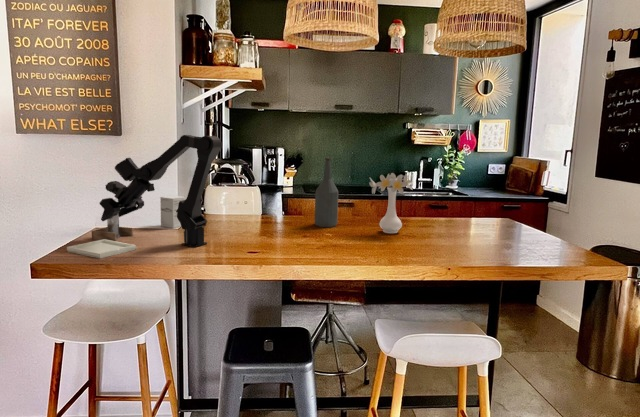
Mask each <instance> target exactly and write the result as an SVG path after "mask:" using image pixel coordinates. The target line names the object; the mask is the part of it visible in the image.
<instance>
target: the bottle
mask: <svg viewBox="0 0 640 417" xmlns="http://www.w3.org/2000/svg"><path fill="white" fill-rule="evenodd" d="M331 160H332V159H331V157H325V160H324V161H325V163H324V171H323V176H322V177H323V178H322V180H321V182H320V184H319V185H318V186H317V188H316V190H315V192H314V193H315V196H314V225H315V226H316V227H320V228H335V227H336V226H337V225H338V213H339V190H338V188H337V186H336V185H335V183H334V181H333V179H332V178H333V177H332V167H331V166H332V165H331Z"/></svg>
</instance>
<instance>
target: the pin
mask: <svg viewBox="0 0 640 417" xmlns="http://www.w3.org/2000/svg"><path fill="white" fill-rule="evenodd" d="M113 200H114V201H115V202H118V199H113ZM106 221H107V226H106V227H107V228H108V232H112V233H116V239H119V238H120V236H121V235H120V234H119V227H120V217H119V213H117V215H116V216H114V217H111V218H109V219H107V220H106Z"/></svg>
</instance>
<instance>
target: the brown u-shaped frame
mask: <svg viewBox="0 0 640 417" xmlns="http://www.w3.org/2000/svg"><path fill="white" fill-rule="evenodd" d="M119 234H120V236H127V237H128V236H129V237H133V236H134V227H128V226H127V227H126V226H119ZM102 239H106V240H111V241H117V238H116V233H112V232H108V228H107V226H106V227H101V228H98V229H95V230H91V240H94V241H98V240H102Z"/></svg>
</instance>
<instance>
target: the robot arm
mask: <svg viewBox="0 0 640 417" xmlns="http://www.w3.org/2000/svg"><path fill="white" fill-rule="evenodd" d="M222 146H223V143H222V141H221V139H220V138H219V137H218V136H216V135H203V136H195V135H192V134H184V135H181V136H180V137H179V139H178V140H177V141H175V142H174V143H173V144H172V145H171V146H170V147H169V148H167V149H166V150H165V151H164V152H163V153H162V154H161V155H159V156H158V157H157V158H155V159H153V160H151V161H149V162H147V163H145V164H142V165H141V166H140V167H138V166H137V164H136V163H135V162H134V160H133V159H132V158H131V157H126V158H124V159H123V160H121V161H120V162H119V163H117V164H115V166H114V170H115V171H116V172H117V173H118V175H120V178H122V179H123V181H124V182H130V183H129V184H128V185H127V186H126V185H125V184H123V183H121V182H120V181H117V180H113V181H108V182H107V184H105V190H106V191H107V192H109V193H112V194H113V195H114V198H115V199H114V198H113V197H106V198H102V199H101V200H100V201H99V205H100V206H101V207H102V209H103V212H102V215H101V217H100V221H101V222H105V221H107V219H109V218H111V217H114V216H116V215H117V213H119V218H121V217H124V216H126V215H129V214H131V213H133V212H135V211H137V210H140V209H142V208H143V207H144V206H145V201H144V200H143V195H144V193H146V192H154V191H155V185H154V183H152V182H153V181H156V180H157V181H158V180H160V179H162V177H163V176H164V175H165V174H166V172H167V170H168V168H169V166H171V164H172V163H174V162H175V161H176V160H177V159H179V157H181V156H182V155H184V154H185V152H187V151H188V150H189V149H190V148H192V149H195V150H196V157H197V163H196V166H195V169H194V173H193V176H192V179H191V182H190V185H189V189H188V192H187V195H186V197H185V200H183V201H180V202H179V204H178V209H177V211H176V212H178V213H177V218H178V220H179V222H180V224H181V227H180V228H181V229H182V230H184V231H183V242H181V246H187V247H192V248H197V247H200V246H204V245H207V244H208V242H207V241H205V228H204V227H205V226H207V222H208V220H207V219H206V217H205V216H204V215H203V214H202V202H201V200H202V196H203V193H204V190H205V186H206V182H207V180H208V176H209V173H210V171H211V166H212V163H213V162H214V160H216V158H217V157H218V156H219V153H220V151H221V149H222ZM151 181H152V182H151ZM114 200H118V202H115V201H114Z"/></svg>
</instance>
